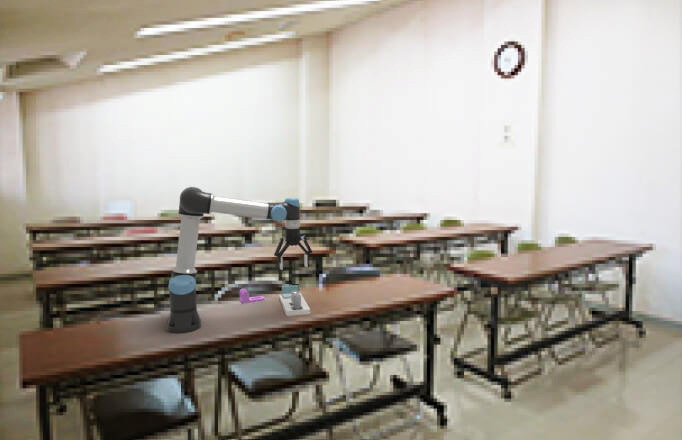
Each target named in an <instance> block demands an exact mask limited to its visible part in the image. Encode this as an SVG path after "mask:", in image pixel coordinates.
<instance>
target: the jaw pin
mask: <svg viewBox="0 0 682 440" xmlns="http://www.w3.org/2000/svg"><path fill="white" fill-rule="evenodd" d="M299 293H300V292H299V291H291V306H293V295H299Z"/></svg>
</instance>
